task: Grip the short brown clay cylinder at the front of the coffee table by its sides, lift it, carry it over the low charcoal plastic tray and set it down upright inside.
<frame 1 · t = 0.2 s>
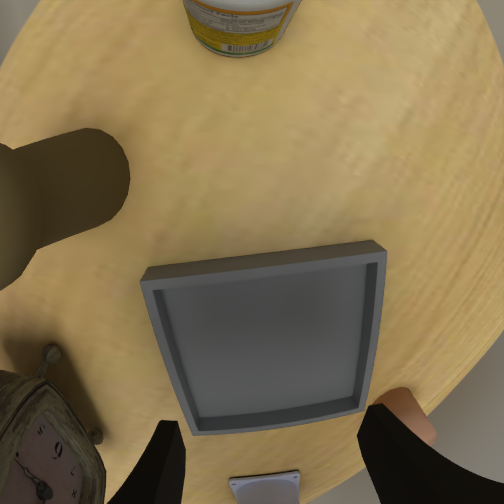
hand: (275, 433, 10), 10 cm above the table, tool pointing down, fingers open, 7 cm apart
brown pawn figure: (85, 178, 16), on the table
brown clay cylinder: (390, 404, 24), on the table
tray: (271, 347, 20), on the table
tabletop clock: (55, 389, 21), on the table
supplement bottle: (238, 19, 13), on the table
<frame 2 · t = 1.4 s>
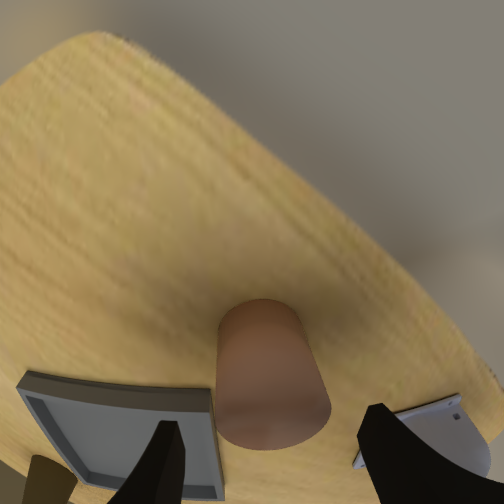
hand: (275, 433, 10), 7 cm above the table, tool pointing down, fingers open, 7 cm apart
brown pawn figure: (54, 468, 22), on the table
brown clay cylinder: (260, 335, 16), on the table
tray: (131, 442, 19), on the table
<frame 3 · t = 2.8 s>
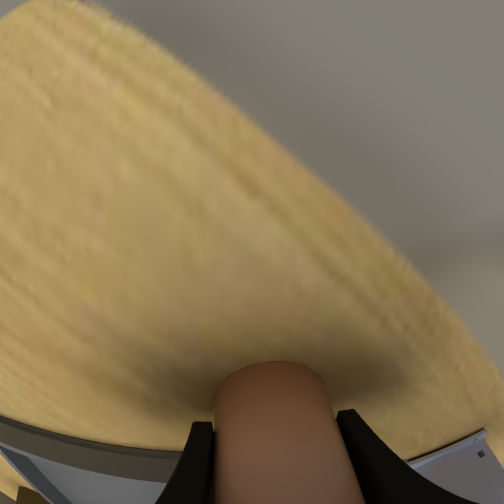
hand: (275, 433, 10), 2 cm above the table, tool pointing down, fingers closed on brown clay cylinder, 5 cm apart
brown pawn figure: (43, 499, 17), on the table
brown clay cylinder: (270, 402, 12), on the table, touching gripper
tray: (119, 492, 15), on the table
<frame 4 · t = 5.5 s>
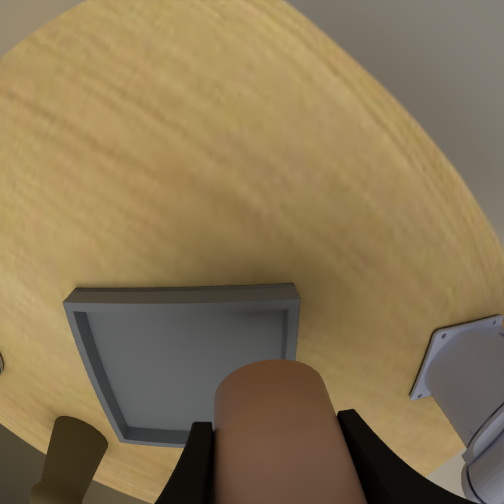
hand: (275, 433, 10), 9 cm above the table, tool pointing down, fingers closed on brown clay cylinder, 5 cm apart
brown pawn figure: (81, 433, 23), on the table
brown clay cylinder: (270, 400, 11), point 8 cm above the table, touching gripper
tray: (189, 374, 20), on the table
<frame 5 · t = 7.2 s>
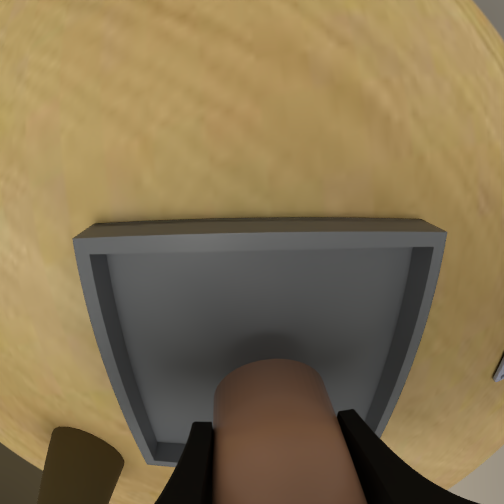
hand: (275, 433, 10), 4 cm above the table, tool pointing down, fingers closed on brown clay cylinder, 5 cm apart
brown pawn figure: (87, 448, 17), on the table
brown clay cylinder: (270, 400, 11), point 3 cm above the table, touching gripper
tray: (264, 362, 14), on the table
when the fingers open (3 cm above the table, at t = 8.4 s): brown clay cylinder stays where it is, resting on tray.
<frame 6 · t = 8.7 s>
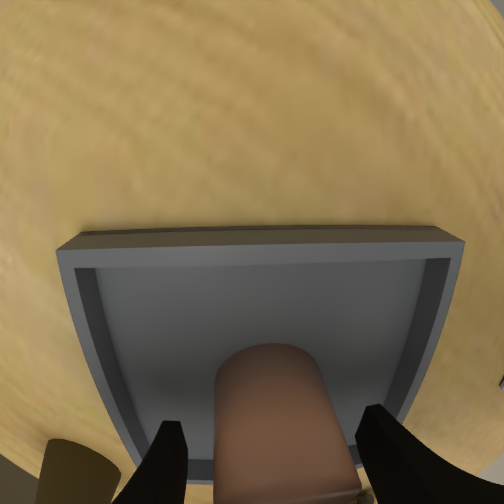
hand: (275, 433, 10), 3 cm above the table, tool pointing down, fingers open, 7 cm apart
brown pawn figure: (83, 460, 16), on the table
brown clay cylinder: (267, 384, 12), point 1 cm above the table, touching tray
tray: (266, 378, 13), on the table
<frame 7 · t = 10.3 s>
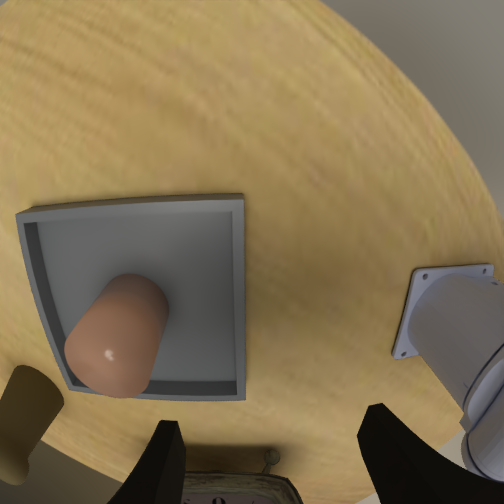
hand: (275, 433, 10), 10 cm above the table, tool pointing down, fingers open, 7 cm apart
brown pawn figure: (38, 387, 22), on the table
brown clay cylinder: (134, 306, 18), point 1 cm above the table, touching tray
tray: (137, 304, 19), on the table
tabletop clock: (217, 462, 26), on the table
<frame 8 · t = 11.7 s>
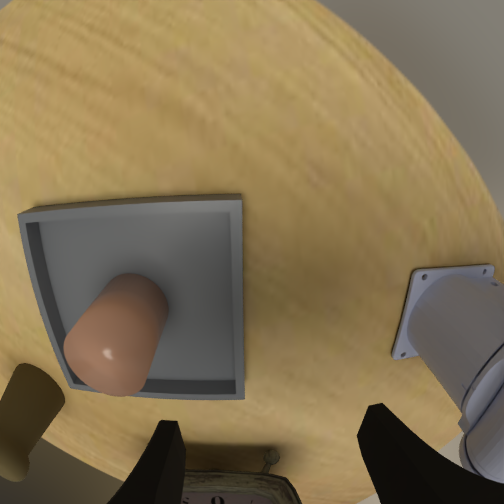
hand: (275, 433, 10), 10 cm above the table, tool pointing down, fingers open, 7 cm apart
brown pawn figure: (40, 385, 22), on the table
brown clay cylinder: (134, 305, 19), point 1 cm above the table, touching tray
tray: (137, 303, 19), on the table
tabletop clock: (217, 461, 26), on the table
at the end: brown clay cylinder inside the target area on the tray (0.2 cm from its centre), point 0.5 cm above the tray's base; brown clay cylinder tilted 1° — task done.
